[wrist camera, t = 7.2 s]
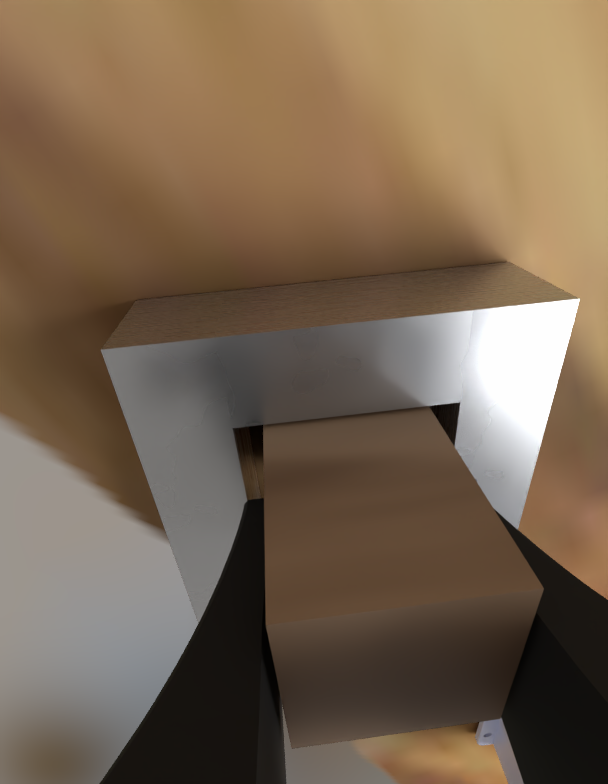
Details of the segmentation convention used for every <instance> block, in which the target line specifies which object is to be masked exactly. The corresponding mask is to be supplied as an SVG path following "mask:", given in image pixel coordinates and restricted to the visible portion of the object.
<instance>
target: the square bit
mask: <svg viewBox="0 0 608 784" xmlns="http://www.w3.org/2000/svg"><path fill="white" fill-rule="evenodd" d="M263 455H264V530H265V606H266V629H267V633H268V638H269V643H270V648H271V652H272V657H273V662H274V667H275V671H276V676H277V681H278V686H279V690H280V695H281V700H282V705H283V709H284V714H285V719H286V724H287V728H288V733H289V738H290V742H291V747H292V749H293V748H300V747H307V746H314V745H321V744H328V743H335V742H342V741H349V740H356V739H363V738H370V737H377V736H384V735H391V734H398V733H405V732H412V731H419V730H426V729H433V728H440V727H447V726H454V725H461V724H468V723H475V722H482V721H489V720H496V719H500V718H501V715H502V712H503V709H504V706H505V703H506V700H507V697H508V694H509V691H510V688H511V685H512V683H513V680H514V677H515V674H516V671H517V668H518V665H519V662H520V659H521V656H522V653H523V650H524V647H525V644H526V641H527V638H528V635H529V632H530V629H531V626H532V623H533V620H534V617H535V614H536V611H537V608H538V605H539V602H540V599H541V596H542V593H543V590H544V588H543V586H542V585H541V583H540V581H539V580H538V578H537V577H536V575H535V573H534V572H533V570H532V569H531V567H530V566H529V564H528V562H527V561H526V559H525V558H524V556H523V554H522V553H521V551H520V550H519V548H518V547H517V545H516V543H515V542H514V540H513V539H512V537H511V535H510V534H509V532H508V531H507V529H506V527H505V526H504V524H503V523H502V521H501V520H500V518H499V516H498V515H497V513H496V512H495V510H494V508H493V507H492V505H491V504H490V502H489V501H488V499H487V497H486V496H485V494H484V493H483V491H482V489H481V488H480V486H479V485H478V483H477V482H476V480H475V478H474V477H473V475H472V474H471V472H470V470H469V469H468V467H467V466H466V464H465V463H464V461H463V459H462V458H461V456H460V455H459V453H458V451H457V450H456V448H455V447H454V445H453V444H452V442H451V440H450V439H449V437H448V436H447V434H446V432H445V431H444V429H443V428H442V426H441V425H440V423H439V421H438V420H437V418H436V417H435V415H434V413H433V412H432V410H431V409H430V407H429V406H424V407H415V408H406V409H398V410H389V411H380V412H371V413H363V414H354V415H345V416H336V417H328V418H319V419H310V420H301V421H292V422H284V423H275V424H266V425H263Z"/></svg>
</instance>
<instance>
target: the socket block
mask: <svg viewBox="0 0 608 784" xmlns="http://www.w3.org/2000/svg"><path fill="white" fill-rule="evenodd" d="M579 300H580V299H579V298H577V297H575V296H573V295H572V294H570V293H568V292H566V291H564V290H562V289H560V288H558V287H556V286H554V285H552V284H551V283H549V282H547V281H545V280H543V279H541V278H539V277H537V276H535V275H533V274H531V273H530V272H528V271H526V270H524V269H522V268H520V267H518V266H516V265H514V264H512V263H510V262H504V263H494V264H484V265H475V266H465V267H455V268H445V269H436V270H426V271H416V272H406V273H396V274H387V275H377V276H367V277H357V278H347V279H338V280H328V281H318V282H308V283H299V284H289V285H279V286H269V287H259V288H250V289H240V290H230V291H220V292H211V293H201V294H191V295H181V296H171V297H162V298H152V299H142V300H136V301H135V303H134V304H133V306H132V307H131V308H130V310H129V311H128V312H127V314H126V315H125V317H124V318H123V319H122V321H121V322H120V324H119V325H118V326H117V328H116V329H115V331H114V332H113V333H112V335H111V336H110V337H109V339H108V340H107V342H106V343H105V344H104V346H103V347H102V349H101V352H102V355H103V358H104V360H105V363H106V366H107V369H108V372H109V374H110V377H111V380H112V383H113V386H114V388H115V391H116V394H117V397H118V400H119V402H120V405H121V408H122V411H123V414H124V416H125V419H126V422H127V425H128V428H129V430H130V433H131V436H132V439H133V442H134V444H135V447H136V450H137V453H138V456H139V458H140V461H141V464H142V467H143V470H144V472H145V475H146V478H147V481H148V484H149V486H150V489H151V492H152V495H153V498H154V500H155V503H156V506H157V509H158V512H159V514H160V517H161V520H162V523H163V526H164V528H165V531H166V534H167V537H168V540H169V542H170V545H171V548H172V551H173V554H174V556H175V559H176V562H177V565H178V568H179V570H180V573H181V576H182V579H183V582H184V584H185V587H186V590H187V593H188V596H189V598H190V601H191V604H192V607H193V609H194V612H195V615H196V618H197V621H198V623H199V622H200V620H201V618H202V616H203V613H204V611H205V609H206V607H207V605H208V603H209V600H210V598H211V596H212V594H213V592H214V590H215V587H216V585H217V583H218V581H219V578H220V576H221V573H222V571H223V568H224V566H225V563H226V561H227V558H228V556H229V553H230V551H231V548H232V545H233V542H234V539H235V536H236V533H237V530H238V527H239V524H240V520H241V517H242V513H243V508H244V504H245V503H246V502H247V501H248V500H252V499H260V498H261V495H260V490H259V484H258V478H257V473H256V467H255V461H254V456H253V450H252V445H251V439H250V433H249V428H248V427H249V426H257V425H266V424H275V423H284V422H292V421H301V420H310V419H319V418H328V417H336V416H345V415H354V414H363V413H371V412H380V411H389V410H398V409H406V408H415V407H424V406H429V407H430V409H431V410H432V412H433V413H434V415H435V417H436V418H437V420H438V421H439V423H440V425H441V426H442V428H443V429H444V431H445V432H446V434H447V436H448V437H449V439H450V440H451V442H452V444H453V445H454V447H455V448H456V450H457V451H458V453H459V455H460V456H461V458H462V459H463V461H464V463H465V464H466V466H467V467H468V469H469V470H470V472H471V474H472V475H473V477H474V478H475V480H476V482H477V483H478V485H479V486H480V488H481V489H482V491H483V493H484V494H485V496H486V497H487V499H488V501H489V502H490V504H491V505H492V507H493V508H494V509H495V510H496V511H497V512H498V513H499V514H501V515H502V516H503V517H504V518H505V519H506V520H507V521H508V522H509V523H511V524H512V525H513V526H514V527H515V528H516V529H518V527H519V523H520V519H521V516H522V512H523V508H524V504H525V501H526V497H527V493H528V490H529V486H530V482H531V478H532V475H533V471H534V467H535V464H536V460H537V456H538V452H539V449H540V445H541V441H542V438H543V434H544V430H545V426H546V423H547V419H548V415H549V412H550V408H551V404H552V400H553V397H554V393H555V389H556V386H557V382H558V378H559V374H560V371H561V367H562V363H563V360H564V356H565V352H566V349H567V345H568V341H569V337H570V334H571V330H572V326H573V323H574V319H575V315H576V311H577V308H578V304H579Z"/></svg>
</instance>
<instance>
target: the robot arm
mask: <svg viewBox="0 0 608 784" xmlns="http://www.w3.org/2000/svg"><path fill="white" fill-rule="evenodd" d="M494 510H495V509H494ZM495 512H496V513H497V515H498V516H499V518H500V520H501V521H502V523H503V524H504V526H505V527H506V529H507V531H508V532H509V534H510V535H511V537H512V539H513V540H514V542H515V543H516V545H517V547H518V548H519V550H520V551H521V553H522V554H523V556H524V558H525V559H526V561H527V562H528V564H529V566H530V567H531V569H532V570H533V572H534V573H535V575H536V577H537V578H538V580H539V581H540V583H541V585H542V586H543V588H544V590H543V593H542V596H541V599H540V602H539V605H538V608H537V611H536V614H535V617H534V620H533V623H532V626H531V629H530V632H529V635H528V638H527V641H526V644H525V647H524V650H523V653H522V656H521V659H520V662H519V665H518V668H517V671H516V674H515V677H514V680H513V683H512V685H511V688H510V691H509V694H508V697H507V700H506V703H505V706H504V709H503V712H502V715H501V718H500V719H496V720H489V721H482V722H479V726H478V729H477V732H476V735H475V738H476V741H477V744H479V745H489V744H494V747H495V750H496V752H497V755H498V757H499V760H500V763H501V765H502V768H503V770H504V773H505V776H506V778H507V781H508V784H608V600H607V599H606V598H604V597H603V596H601V595H600V594H598V593H597V592H596V591H594V590H593V589H591V588H590V587H588V586H587V585H586V584H584V583H583V582H582V581H580V580H579V579H578V578H576V577H575V576H574V575H572V574H571V573H570V572H569V571H567V570H566V569H565V568H563V567H562V566H561V565H560V564H558V563H557V562H556V561H555V560H553V559H552V558H551V557H550V556H548V555H547V554H546V553H545V552H543V551H542V550H541V549H540V548H539V547H537V546H536V545H535V544H534V543H533V542H531V541H530V540H529V539H528V538H527V537H526V536H524V535H523V534H522V533H521V532H520V531H519V530H518V529H516V528H515V527H514V526H513V525H512V524H511V523H509V522H508V521H507V520H506V519H505V518H504V517H503V516H502V515H501V514H499V513H498V512H497V511H496V510H495ZM100 784H286V770H285V752H284V734H283V716H282V700H281V695H280V690H279V686H278V681H277V676H276V671H275V667H274V662H273V657H272V652H271V648H270V643H269V638H268V633H267V629H266V606H265V530H264V498H260V499H252V500H248V501H247V502H246V503H245V504H244V508H243V513H242V517H241V520H240V524H239V527H238V530H237V533H236V536H235V539H234V542H233V545H232V548H231V551H230V553H229V556H228V558H227V561H226V563H225V566H224V568H223V571H222V573H221V576H220V578H219V581H218V583H217V585H216V587H215V590H214V592H213V594H212V596H211V598H210V600H209V603H208V605H207V607H206V609H205V611H204V613H203V616H202V618H201V620H200V622H199V624H198V626H197V628H196V630H195V632H194V634H193V635H192V637H191V639H190V641H189V643H188V645H187V647H186V648H185V650H184V652H183V654H182V656H181V658H180V659H179V661H178V663H177V665H176V667H175V668H174V670H173V672H172V673H171V675H170V677H169V678H168V680H167V682H166V683H165V685H164V687H163V688H162V690H161V692H160V694H159V695H158V697H157V698H156V700H155V702H154V703H153V705H152V706H151V708H150V710H149V711H148V713H147V714H146V716H145V718H144V719H143V721H142V722H141V724H140V725H139V727H138V728H137V730H136V731H135V733H134V734H133V736H132V737H131V739H130V740H129V742H128V743H127V745H126V746H125V747H124V749H123V750H122V752H121V753H120V755H119V756H118V758H117V759H116V761H115V762H114V764H113V765H112V767H111V768H110V769H109V771H108V772H107V774H106V775H105V777H104V778H103V780H102V781H101V782H100Z"/></svg>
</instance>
